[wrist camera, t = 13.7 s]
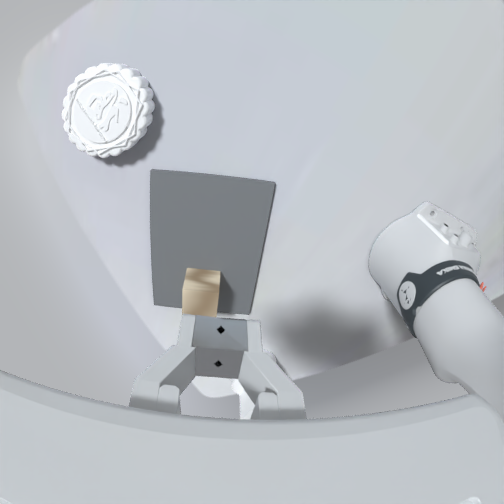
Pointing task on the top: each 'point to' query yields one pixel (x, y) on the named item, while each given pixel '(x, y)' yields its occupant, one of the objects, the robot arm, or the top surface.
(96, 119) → the white mooncake
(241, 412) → the white cylinder with post
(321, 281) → the top surface
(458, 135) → the top surface
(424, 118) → the top surface
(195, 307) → the maple block
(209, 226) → the rubber mat
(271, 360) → the robot arm
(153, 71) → the top surface
